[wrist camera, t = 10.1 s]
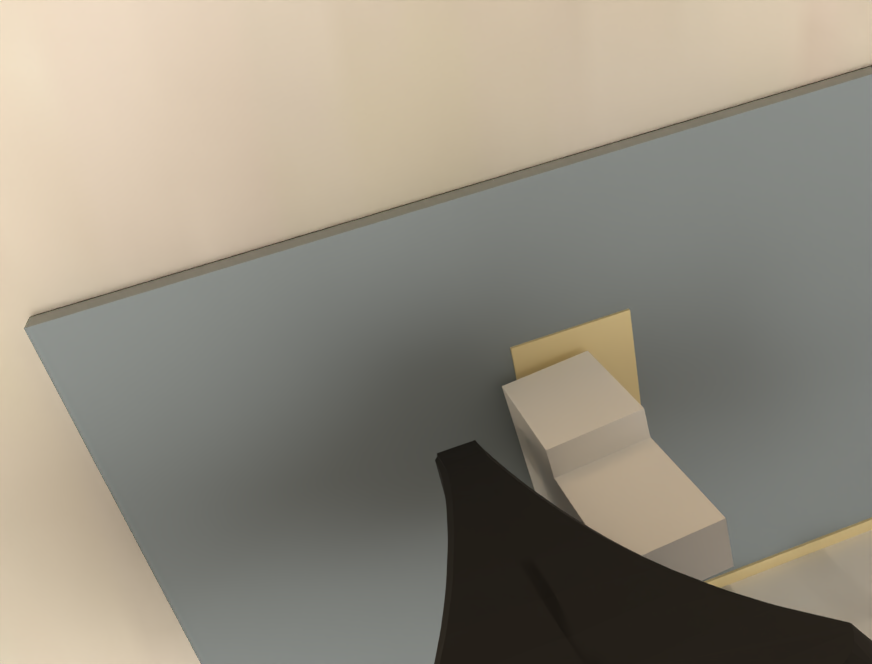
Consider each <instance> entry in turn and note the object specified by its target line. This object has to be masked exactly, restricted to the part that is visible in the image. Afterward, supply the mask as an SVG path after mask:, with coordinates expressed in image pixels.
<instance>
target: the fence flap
mask: <svg viewBox="0 0 872 664" xmlns="http://www.w3.org/2000/svg"><path fill="white" fill-rule="evenodd" d="M502 389H503V392H504V395H505V398H506V401H507V404H508V408H509V411H510V414H511V417H512V420H513V423H514V426H515V430H516V433H517V436H518V439H519V442H520V445H521V449H522V452H523V455H524V458H525V461H526V464H527V468H528V471H529V474H530V477H531V480H532V483H533V487H534V490H535V491H536V492H537V493H538V494H540V495H541V496H543V497H544V498H546V499H547V500H548V501H550V502H551V503H553V504H554V505H555V506H557V507H558V508H560V509H561V510H563V511H564V512H566V513H567V514H569V515H570V516H572V517H574V518H575V519H577V520H578V521H580V522H582V523H583V524H585V525H587V526H588V527H590V528H591V529H593V530H595V531H596V532H598V533H600V534H602V535H603V536H605V537H607V538H609V539H611V540H612V541H614V542H616V543H618V544H620V545H622V546H624V547H626V548H628V549H630V550H632V551H634V552H636V553H637V554H639V555H641V556H643V557H645V558H648V559H650V560H652V561H654V562H656V563H659V564H661V565H663V566H665V567H667V568H670V569H672V570H675V571H677V572H680V573H682V574H685V575H688V576H690V577H693V578H695V579H698V580H701V581H702V580H705V579H707V578H709V577H711V576H713V575H716V574H718V573H720V572H722V571H724V570H727V569H729V568H731V567H733V566H734V565H733V559H732V553H731V546H730V540H729V534H728V528H727V522H726V518H725V517H724V516H723V515H722V514H721V512H720V511H719V510H718V509H717V508H716V507H715V506H714V505H713V504H712V503H711V502H710V501H709V500H708V498H707V497H706V496H705V495H704V494H703V493H702V492H701V491H700V490H699V489H698V488H697V487H696V486H695V484H694V483H693V482H692V481H691V480H690V479H689V478H688V477H687V476H686V475H685V474H684V473H683V472H682V471H681V469H680V468H679V467H678V466H677V465H676V464H675V463H674V462H673V461H672V460H671V459H670V458H669V457H668V455H667V454H666V453H665V452H664V451H663V450H662V449H661V448H660V447H659V446H658V445H657V444H656V443H655V442H654V440H653V439H652V438H651V437H650V433H649V429H648V424H647V419H646V415H645V410H644V408H643V407H642V406H641V405H640V404H639V403H638V402H637V401H636V400H635V399H634V397H633V396H632V395H631V394H630V393H629V392H628V391H627V390H626V389H625V388H624V387H623V386H622V385H621V384H620V383H619V382H618V381H617V380H616V379H615V378H614V377H613V376H612V375H611V374H610V373H609V372H608V371H607V370H606V369H605V368H604V367H603V366H602V365H601V364H600V363H599V362H598V361H597V360H596V359H595V358H594V357H593V356H592V354H591V353H590V352H589V351H585V352H583V353H581V354H578V355H576V356H573V357H571V358H569V359H566V360H564V361H561V362H559V363H557V364H554V365H552V366H549V367H547V368H544V369H542V370H540V371H537V372H535V373H532V374H530V375H528V376H525V377H523V378H520V379H518V380H516V381H513V382H511V383H508V384H506V385H504V386H502Z"/></svg>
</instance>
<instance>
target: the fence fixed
mask: <svg viewBox="0 0 872 664" xmlns="http://www.w3.org/2000/svg"><path fill="white" fill-rule="evenodd" d="M721 588H722V589H725V590H728V591H731V592H734V593H737V594H740V595H744V596H747V597H750V598H754V599H757V600H760V601H763V602H767V603H770V604H774V605H777V606H781V607H785V608H790V609H794V610H798V611H803V612H807V613H811V614H815V615H820V616H824V617H828V618H832V619H837V620H841V621H845V622H850V623H852V624H853V625H854V626H855V627H856V628H857V629H858V630H860V631H861V632H862V633H863V634H865V635H866V636H867V637H868V638H869V639H871V640H872V530H869V531H867V532H864V533H862V534H859V535H856V536H854V537H851V538H849V539H846V540H843V541H841V542H838V543H836V544H833V545H830V546H828V547H825V548H823V549H820V550H817V551H815V552H812V553H809V554H807V555H804V556H802V557H799V558H796V559H794V560H791V561H789V562H786V563H783V564H781V565H778V566H776V567H773V568H770V569H768V570H765V571H763V572H760V573H757V574H755V575H752V576H750V577H747V578H744V579H742V580H739V581H737V582H734V583H731V584H729V585H726V586H724V587H721Z"/></svg>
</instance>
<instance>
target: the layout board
mask: <svg viewBox="0 0 872 664" xmlns="http://www.w3.org/2000/svg"><path fill="white" fill-rule="evenodd" d="M24 329H25V331H26V333H27V335H28V337H29V339H30V340H31V342H32V344H33V346H34V348H35V350H36V352H37V354H38V356H39V358H40V359H41V361H42V363H43V365H44V367H45V369H46V371H47V373H48V375H49V376H50V378H51V380H52V382H53V384H54V386H55V388H56V390H57V392H58V394H59V395H60V397H61V399H62V401H63V403H64V405H65V407H66V409H67V411H68V413H69V414H70V416H71V418H72V420H73V422H74V424H75V426H76V428H77V430H78V431H79V433H80V435H81V437H82V439H83V441H84V443H85V445H86V447H87V449H88V450H89V452H90V454H91V456H92V458H93V460H94V462H95V464H96V466H97V468H98V469H99V471H100V473H101V475H102V477H103V479H104V481H105V483H106V485H107V486H108V488H109V490H110V492H111V494H112V496H113V498H114V500H115V502H116V504H117V505H118V507H119V509H120V511H121V513H122V515H123V517H124V519H125V521H126V522H127V524H128V526H129V528H130V530H131V532H132V534H133V536H134V538H135V540H136V541H137V543H138V545H139V547H140V549H141V551H142V553H143V555H144V557H145V559H146V560H147V562H148V564H149V566H150V568H151V570H152V572H153V574H154V576H155V577H156V579H157V581H158V583H159V585H160V587H161V589H162V591H163V593H164V595H165V596H166V598H167V600H168V602H169V604H170V606H171V608H172V610H173V612H174V614H175V615H176V617H177V619H178V621H179V623H180V625H181V627H182V629H183V631H184V632H185V634H186V636H187V638H188V640H189V642H190V644H191V646H192V648H193V650H194V651H195V653H196V655H197V657H198V659H199V661H200V663H201V664H434V662H435V657H436V651H437V646H438V641H439V636H440V630H441V623H442V616H443V608H444V600H445V589H446V575H447V552H448V531H447V509H446V500H445V495H444V491H443V488H442V484H441V480H440V477H439V473H438V469H437V466H436V462H435V459H436V458H437V453H439V452H442V451H445V450H448V449H451V448H453V447H456V446H459V445H462V444H465V443H468V442H471V441H474V440H476V442H477V443H478V444H479V445H480V446H481V447H482V448H483V449H484V450H485V451H486V452H488V453H489V454H490V455H491V456H492V457H493V458H494V459H495V460H497V461H498V462H499V463H500V464H501V465H502V466H504V467H505V468H506V469H507V470H508V471H510V472H511V473H512V474H513V475H515V476H516V477H517V478H518V479H520V480H521V481H522V482H524V483H525V484H526V485H527V486H529V487H530V488H531V489H533V490H534V487H533V483H532V480H531V477H530V474H529V471H528V468H527V464H526V461H525V458H524V455H523V452H522V449H521V445H520V442H519V439H518V436H517V433H516V430H515V426H514V423H513V420H512V417H511V414H510V411H509V408H508V404H507V401H506V398H505V395H504V392H503V389H502V386H504V385H506V384H508V383H511V382H513V381H516V380H518V379H520V378H523V377H525V376H528V375H530V374H532V373H535V372H537V371H540V370H542V369H544V368H547V367H549V366H552V365H554V364H557V363H559V362H561V361H564V360H566V359H569V358H571V357H573V356H576V355H578V354H581V353H583V352H585V351H589V352H590V353H591V354H592V356H593V357H594V358H595V359H596V360H597V361H598V362H599V363H600V364H601V365H602V366H603V367H604V368H605V369H606V370H607V371H608V372H609V373H610V374H611V375H612V376H613V377H614V378H615V379H616V380H617V381H618V382H619V383H620V384H621V385H622V386H623V387H624V388H625V389H626V390H627V391H628V392H629V393H630V394H631V395H632V396H633V397H634V399H635V400H636V401H637V402H638V403H639V404H640V405H641V406H642V407H643V408H644V410H645V415H646V419H647V424H648V429H649V433H650V437H651V438H652V439H653V440H654V442H655V443H656V444H657V445H658V446H659V447H660V448H661V449H662V450H663V451H664V452H665V453H666V454H667V455H668V457H669V458H670V459H671V460H672V461H673V462H674V463H675V464H676V465H677V466H678V467H679V468H680V469H681V471H682V472H683V473H684V474H685V475H686V476H687V477H688V478H689V479H690V480H691V481H692V482H693V483H694V484H695V486H696V487H697V488H698V489H699V490H700V491H701V492H702V493H703V494H704V495H705V496H706V497H707V498H708V500H709V501H710V502H711V503H712V504H713V505H714V506H715V507H716V508H717V509H718V510H719V511H720V512H721V514H722V515H723V516H724V517H725V518H726V522H727V528H728V534H729V540H730V546H731V553H732V559H733V565H734V566H733V567H731V568H729V569H727V570H724V571H722V572H720V573H718V574H716V575H713V576H711V577H709V578H707V579H705V580H702V581H703V582H706V583H708V584H711V585H714V586H716V587H719V588H721V587H724V586H726V585H729V584H731V583H734V582H737V581H739V580H742V579H744V578H747V577H750V576H752V575H755V574H757V573H760V572H763V571H765V570H768V569H770V568H773V567H776V566H778V565H781V564H783V563H786V562H789V561H791V560H794V559H796V558H799V557H802V556H804V555H807V554H809V553H812V552H815V551H817V550H820V549H823V548H825V547H828V546H830V545H833V544H836V543H838V542H841V541H843V540H846V539H849V538H851V537H854V536H856V535H859V534H862V533H864V532H867V531H869V530H872V66H870V67H867V68H864V69H860V70H857V71H854V72H850V73H847V74H844V75H840V76H837V77H833V78H830V79H827V80H823V81H820V82H817V83H813V84H810V85H807V86H803V87H800V88H797V89H793V90H790V91H787V92H783V93H780V94H777V95H773V96H770V97H766V98H763V99H760V100H756V101H753V102H750V103H746V104H743V105H740V106H736V107H733V108H730V109H726V110H723V111H720V112H716V113H713V114H709V115H706V116H703V117H699V118H696V119H693V120H689V121H686V122H683V123H679V124H676V125H673V126H669V127H666V128H663V129H659V130H656V131H653V132H649V133H646V134H642V135H639V136H636V137H632V138H629V139H626V140H622V141H619V142H616V143H612V144H609V145H606V146H602V147H599V148H596V149H592V150H589V151H585V152H582V153H579V154H575V155H572V156H569V157H565V158H562V159H559V160H555V161H552V162H549V163H545V164H542V165H539V166H535V167H532V168H529V169H525V170H522V171H518V172H515V173H512V174H508V175H505V176H502V177H498V178H495V179H492V180H488V181H485V182H482V183H478V184H475V185H472V186H468V187H465V188H461V189H458V190H455V191H451V192H448V193H445V194H441V195H438V196H435V197H431V198H428V199H425V200H421V201H418V202H415V203H411V204H408V205H405V206H401V207H398V208H394V209H391V210H388V211H384V212H381V213H378V214H374V215H371V216H368V217H364V218H361V219H358V220H354V221H351V222H348V223H344V224H341V225H337V226H334V227H331V228H327V229H324V230H321V231H317V232H314V233H311V234H307V235H304V236H301V237H297V238H294V239H291V240H287V241H284V242H281V243H277V244H274V245H270V246H267V247H264V248H260V249H257V250H254V251H250V252H247V253H244V254H240V255H237V256H234V257H230V258H227V259H224V260H220V261H217V262H213V263H210V264H207V265H203V266H200V267H197V268H193V269H190V270H187V271H183V272H180V273H177V274H173V275H170V276H167V277H163V278H160V279H157V280H153V281H150V282H146V283H143V284H140V285H136V286H133V287H130V288H126V289H123V290H120V291H116V292H113V293H110V294H106V295H103V296H100V297H96V298H93V299H89V300H86V301H83V302H79V303H76V304H73V305H69V306H66V307H63V308H59V309H56V310H53V311H49V312H46V313H43V314H39V315H36V316H33V317H30V318H29V320H28V322H27V324H26V326H25V328H24ZM534 491H535V490H534Z"/></svg>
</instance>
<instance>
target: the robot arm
mask: <svg viewBox="0 0 872 664" xmlns="http://www.w3.org/2000/svg"><path fill="white" fill-rule="evenodd" d="M435 462H436V466H437V469H438V473H439V477H440V480H441V484H442V488H443V491H444V495H445V500H446V509H447V531H448V552H447V575H446V589H445V600H444V608H443V616H442V623H441V630H440V636H439V641H438V646H437V651H436V657H435V662H434V664H872V640H871V639H869V638H868V637H867V636H866V635H865V634H863V633H862V632H861V631H860V630H858V629H857V628H856V627H855V626H854V625H853V624H852V623H850V622H845V621H841V620H837V619H832V618H828V617H824V616H820V615H815V614H811V613H807V612H803V611H798V610H794V609H790V608H785V607H781V606H777V605H774V604H770V603H767V602H763V601H760V600H757V599H754V598H750V597H747V596H744V595H740V594H737V593H734V592H731V591H728V590H725V589H722V588H719V587H716V586H714V585H711V584H708V583H706V582H703V581H701V580H698V579H695V578H693V577H690V576H688V575H685V574H682V573H680V572H677V571H675V570H672V569H670V568H667V567H665V566H663V565H661V564H659V563H656V562H654V561H652V560H650V559H648V558H645V557H643V556H641V555H639V554H637V553H636V552H634V551H632V550H630V549H628V548H626V547H624V546H622V545H620V544H618V543H616V542H614V541H612V540H611V539H609V538H607V537H605V536H603V535H602V534H600V533H598V532H596V531H595V530H593V529H591V528H590V527H588V526H587V525H585V524H583V523H582V522H580V521H578V520H577V519H575V518H574V517H572V516H570V515H569V514H567V513H566V512H564V511H563V510H561V509H560V508H558V507H557V506H555V505H554V504H553V503H551V502H550V501H548V500H547V499H546V498H544V497H543V496H541V495H540V494H538V493H537V492H536V491H534V490H533V489H531V488H530V487H529V486H527V485H526V484H525V483H524V482H522V481H521V480H520V479H518V478H517V477H516V476H515V475H513V474H512V473H511V472H510V471H508V470H507V469H506V468H505V467H504V466H502V465H501V464H500V463H499V462H498V461H497V460H495V459H494V458H493V457H492V456H491V455H490V454H489V453H488V452H486V451H485V450H484V449H483V448H482V447H481V446H480V445H479V444H478V443H477V442H476V440H474V441H471V442H468V443H465V444H462V445H459V446H456V447H453V448H451V449H448V450H445V451H442V452H439V453H437V458H436V459H435Z"/></svg>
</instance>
